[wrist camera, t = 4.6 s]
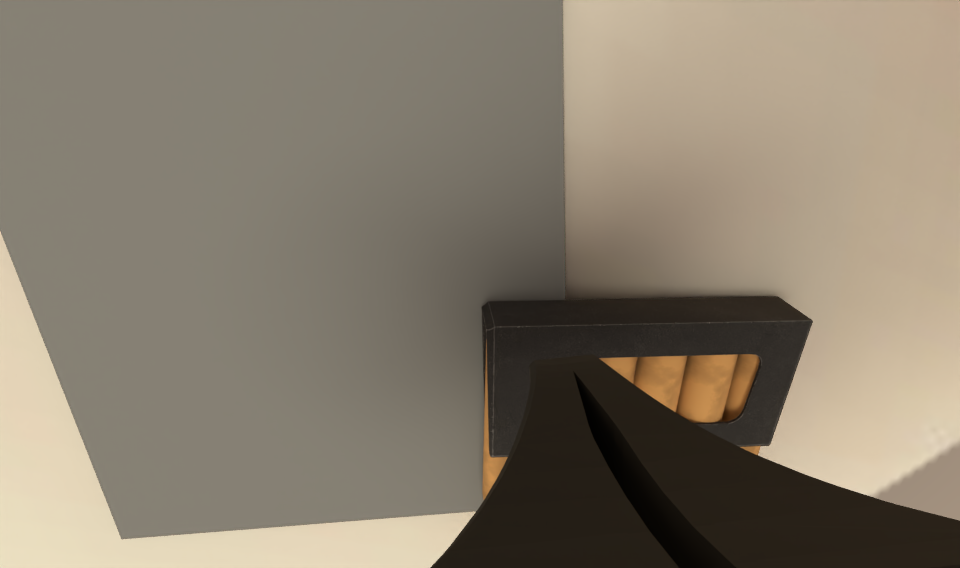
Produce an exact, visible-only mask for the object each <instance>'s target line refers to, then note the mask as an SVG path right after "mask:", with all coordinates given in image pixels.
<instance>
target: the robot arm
mask: <svg viewBox="0 0 960 568" xmlns="http://www.w3.org/2000/svg"><path fill="white" fill-rule="evenodd" d="M529 375H530V390H529V396H528V400H527V404H526V408H525V412H524V416H523V419H522V422H521V425H520V428H519V430H518V433H517V436H516V439H515V442H514V444H513V446H512V449H511V451H510V453H509V455H508V458H507V460H506V462H505V464H504V466H503V468H502V470H501V472H500V474H499V476H498V477H497V479H496V481H495V483H494V484H493V486H492V488H491V489H490V491H489V493H488V494H487V496H486V498H485V499H484V501H483V502H482V504H481V505H480V507H479V508H478V510H477V511H476V513H475V514H474V516H473V517H472V518H471V519H470V521H469V522H468V523H467V525H466V526H465V527H464V529H463V530H462V531H461V533H460V534H459V535H458V536H457V538H456V539H455V540H454V542H453V543H452V544H451V546H450V547H449V548H448V549H447V550H446V551H445V553H444V554H443V555H442V556H441V557H440V558H439V559H438V560H437V561H436V562H435V563H434V564H433V565H432V567H431V568H960V521H958V520H955V519H951V518H947V517H943V516H939V515H935V514H931V513H927V512H923V511H920V510H916V509H912V508H908V507H904V506H900V505H896V504H893V503H889V502H885V501H882V500H879V499H876V498H873V497H870V496H867V495H864V494H860V493H857V492H854V491H851V490H848V489H845V488H842V487H838V486H835V485H833V484H830V483H827V482H824V481H821V480H819V479H816V478H813V477H810V476H807V475H805V474H802V473H800V472H797V471H795V470H792V469H790V468H787V467H785V466H782V465H780V464H777V463H775V462H772V461H770V460H767V459H765V458H763V457H760V456H758V455H756V454H754V453H751V452H749V451H747V450H745V449H743V448H741V447H739V446H737V445H735V444H733V443H730V442H728V441H726V440H724V439H722V438H720V437H718V436H716V435H714V434H712V433H710V432H709V431H707V430H705V429H703V428H701V427H699V426H698V425H696V424H694V423H693V422H691V421H689V420H688V419H686V418H684V417H683V416H681V415H679V414H678V413H676V412H674V411H673V410H671V409H669V408H668V407H666V406H665V405H663V404H662V403H660V402H659V401H657V400H656V399H654V398H653V397H651V396H650V395H648V394H647V393H645V392H644V391H642V390H641V389H640V388H638V387H637V386H635V385H634V384H633V383H631V382H630V381H629V380H627V379H626V378H624V377H623V376H622V375H620V374H619V373H618V372H616V371H615V370H614V369H613V368H611V367H610V366H609V365H607V364H606V363H605V362H603V361H602V360H601V359H599V358H598V357H596V356H595V355H594V354H590V355H581V356H571V357H562V358H553V359H543V360H534V361H533V362H532V363H531V364H530V365H529Z"/></svg>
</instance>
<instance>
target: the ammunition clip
mask: <svg viewBox="0 0 960 568" xmlns="http://www.w3.org/2000/svg"><path fill="white" fill-rule="evenodd" d="M812 322H813V321H812V320H811V319H810V318H808V317H807V316H805V315H804V314H802V313H801V312H800V311H798V310H797V309H795V308H794V307H792V306H791V305H789V304H788V303H786V302H785V301H784V300H782V299H781V298H779V297H723V298H660V299H598V300H536V301H488V302H487V303H486V304H485V305H483V306H482V340H483V376H484V447H483V485H482V494H483V500H484V499H485V498H486V496H487V494H488V493H489V491H490V489H491V488H492V486H493V484H494V483H495V481H496V479H497V477H498V476H499V474H500V472H501V470H502V468H503V466H504V464H505V462H506V460H507V458H508V455H509V453H510V451H511V449H512V446H513V444H514V442H515V439H516V436H517V433H518V430H519V428H520V425H521V422H522V419H523V416H524V412H525V408H526V404H527V400H528V396H529V390H530V375H529V365H530V364H531V363H532V362H533V361H534V360H543V359H553V358H562V357H571V356H581V355H590V354H594V355H595V356H596V357H598V358H599V359H601V360H602V361H603V362H605V363H606V364H607V365H609V366H610V367H611V368H613V369H614V370H615V371H616V372H618V373H619V374H620V375H622V376H623V377H624V378H626V379H627V380H629V381H630V382H631V383H633V384H634V385H635V386H637V387H638V388H640V389H641V390H642V391H644V392H645V393H647V394H648V395H650V396H651V397H653V398H654V399H656V400H657V401H659V402H660V403H662V404H663V405H665V406H666V407H668V408H669V409H671V410H673V411H674V412H676V413H678V414H679V415H681V416H683V417H684V418H686V419H688V420H689V421H691V422H693V423H694V424H696V425H698V426H699V427H701V428H703V429H705V430H707V431H709V432H710V433H712V434H714V435H716V436H718V437H720V438H722V439H724V440H726V441H728V442H730V443H733V444H735V445H737V446H739V447H741V448H743V449H745V450H747V451H749V452H751V453H754V454H756V455H758V453H759V449H760V446H769V445H770V444H771V441H772V438H773V435H774V432H775V429H776V426H777V423H778V420H779V417H780V415H781V412H782V409H783V406H784V403H785V400H786V397H787V394H788V391H789V389H790V386H791V383H792V380H793V377H794V374H795V371H796V368H797V365H798V363H799V360H800V357H801V354H802V351H803V348H804V345H805V342H806V339H807V336H808V334H809V331H810V328H811V325H812Z"/></svg>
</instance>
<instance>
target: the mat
mask: <svg viewBox="0 0 960 568" xmlns="http://www.w3.org/2000/svg"><path fill="white" fill-rule="evenodd" d="M0 231H1V234H2V236H3V239H4V241H5V244H6V247H7V249H8V252H9V254H10V257H11V259H12V262H13V264H14V267H15V269H16V272H17V274H18V277H19V280H20V282H21V285H22V287H23V290H24V292H25V295H26V297H27V300H28V302H29V305H30V308H31V310H32V313H33V315H34V318H35V320H36V323H37V325H38V328H39V330H40V333H41V336H42V338H43V341H44V343H45V346H46V348H47V351H48V353H49V356H50V358H51V361H52V363H53V366H54V369H55V371H56V374H57V376H58V379H59V381H60V384H61V386H62V389H63V391H64V394H65V397H66V399H67V402H68V404H69V407H70V409H71V412H72V414H73V417H74V419H75V422H76V425H77V427H78V430H79V432H80V435H81V437H82V440H83V442H84V445H85V447H86V450H87V452H88V455H89V458H90V460H91V463H92V465H93V468H94V470H95V473H96V475H97V478H98V480H99V483H100V486H101V488H102V491H103V493H104V496H105V498H106V501H107V503H108V506H109V508H110V511H111V514H112V516H113V519H114V521H115V524H116V526H117V529H118V531H119V534H120V536H121V539H130V538H143V537H156V536H168V535H181V534H194V533H206V532H219V531H231V530H244V529H257V528H269V527H282V526H295V525H307V524H320V523H333V522H345V521H358V520H371V519H383V518H396V517H409V516H421V515H434V514H447V513H459V512H472V511H477V510H478V508H479V507H480V505H481V504H482V502H483V501H484V500H483V494H482V485H483V447H484V376H483V340H482V306H483V305H485V304H486V303H487V302H488V301H536V300H565V211H564V107H563V2H562V0H0Z"/></svg>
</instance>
